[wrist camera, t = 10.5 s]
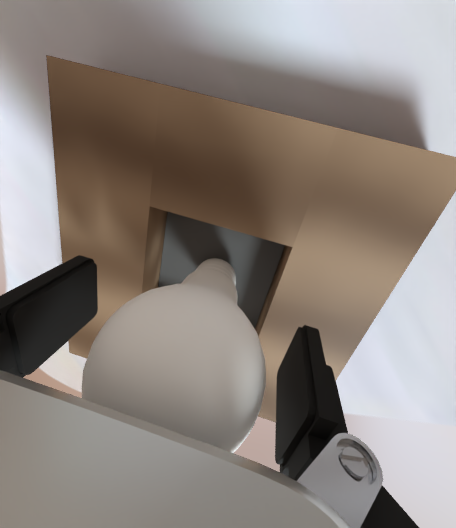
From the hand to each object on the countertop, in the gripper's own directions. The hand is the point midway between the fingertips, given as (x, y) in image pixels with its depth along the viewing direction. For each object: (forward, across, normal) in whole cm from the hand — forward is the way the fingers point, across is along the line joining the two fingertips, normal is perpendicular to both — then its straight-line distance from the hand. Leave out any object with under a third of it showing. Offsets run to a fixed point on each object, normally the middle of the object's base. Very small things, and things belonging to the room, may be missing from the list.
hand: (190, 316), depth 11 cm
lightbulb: (+6, 0, 0) cm, 6 cm away
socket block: (+6, 0, 0) cm, 6 cm away
